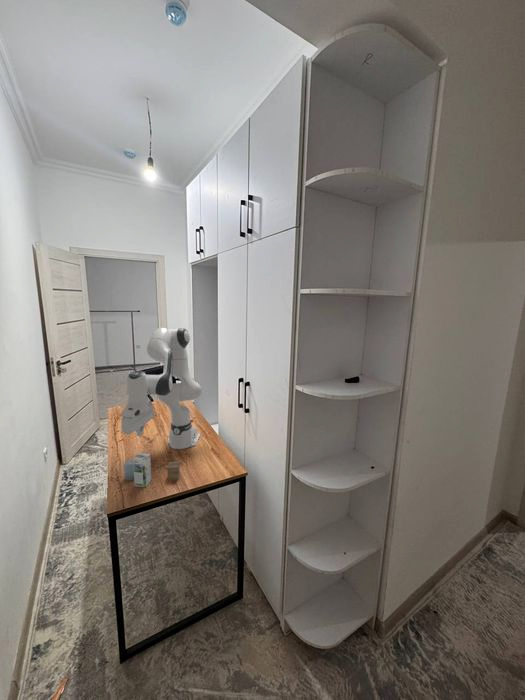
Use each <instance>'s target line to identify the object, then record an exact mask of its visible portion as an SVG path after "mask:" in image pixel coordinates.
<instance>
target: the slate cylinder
mask: <svg viewBox="0 0 525 700" xmlns="http://www.w3.org/2000/svg"><path fill="white" fill-rule="evenodd" d="M123 470H124V471H123V473H124V480H125V481H126V482H130V481H131V482H132V481H134V464H133V459H131V460H127V461H125V462H124V463H123Z"/></svg>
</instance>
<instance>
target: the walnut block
mask: <svg viewBox="0 0 525 700" xmlns="http://www.w3.org/2000/svg"><path fill="white" fill-rule="evenodd" d="M166 468H167V482H169V481H179V478H180V461H170V462H168V465H167V467H166Z"/></svg>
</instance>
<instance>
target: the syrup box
mask: <svg viewBox="0 0 525 700" xmlns="http://www.w3.org/2000/svg"><path fill="white" fill-rule="evenodd" d="M132 460H133V464H134V479H133V481H134V487H140V488H146V487H147V486H148V485H149V484H150V483H151V482H152V467H151V466H152V465H151V454H150V453H144V452H143V453H141V452H139V453H138V454H136V455H135V456H134V457H133V458H132Z"/></svg>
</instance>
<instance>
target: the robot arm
mask: <svg viewBox="0 0 525 700" xmlns="http://www.w3.org/2000/svg"><path fill="white" fill-rule="evenodd" d="M190 338H191V337H190V333H189V331H188V330H187V329H186V328H182V327H180V328H179V327H178V328H171V329H167V328H165V327H158V328H156V329H155V330H154V332H153V333H152V334H151V336H150V339H149V341H148V343H147V346H146V351H147V354H148V355H149V357H150V358H151V359H153V360H154V361H156V362H160V363H162V364H163V373H160V374H146V372H144V371H141V370H136V371H132V372H130V373H129V374H128V375H127V379H126V380H127V381H126V394H127V397H128V398H127V404H126V406H125V407H124V409H122V411H121V412H120V416H121V417H122V418H121V432H122V434H124V435H131V434H134V433H136V436H137V437H140V436H142V435H143V434H144V429H145V427H146V424H147V423H149V422H150V421H151V420H153V419H154V418H155V409H154V405H153V402H152V401H151V400H149V397H148V395H152V396H153V395H155V396H156V395H157V399H158V400H159V401H160V402H161V403H163V404H165V405H166V406H167V407H168V409H169V411H170V417H171V423H170V430H169V435H168V440H167V444H168V445H169V447H170V448H171V449H174V450H185V449H189V448H190V447H196V446H197V444H198V442H199V440H200V438H201V433H199V432H198V431H197V427H196V426H194V425H192V423H193V422H194V419H193V418H191V410H190V408H189V407H187V406H186V405H184V404H181V403H180V402H186V401H187V402H188V401H189V402H190V401H194V400H197V399H198V400H199V398H200V397H201V395H202V394H203V389H202V386H201V385H200V383H198V382H196V380H194V379H193V377H192V375H191V373H190V369H189V357H188V351H187V346H188V344H189V342H190V340H191V339H190ZM173 378H176V379H179V381H180V382H177V383H173ZM199 437H200V438H199ZM198 439H199V440H198Z"/></svg>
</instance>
